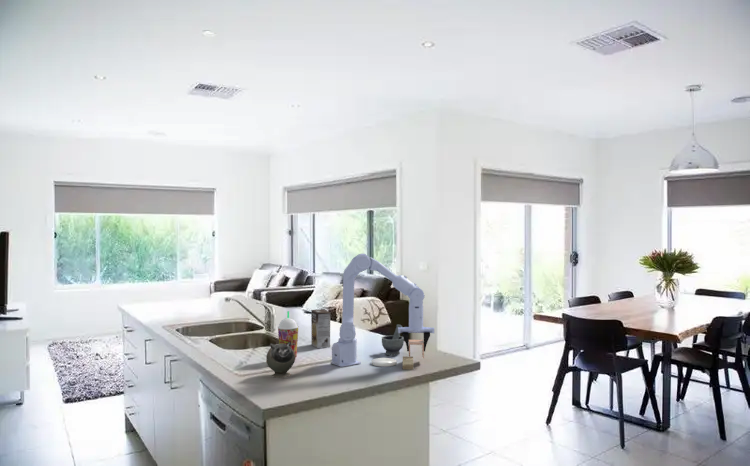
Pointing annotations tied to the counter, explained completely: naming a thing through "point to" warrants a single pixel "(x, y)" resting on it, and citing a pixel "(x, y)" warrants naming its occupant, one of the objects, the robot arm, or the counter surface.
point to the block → (407, 362)
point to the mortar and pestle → (393, 343)
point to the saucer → (384, 362)
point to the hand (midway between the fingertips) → (416, 350)
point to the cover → (417, 342)
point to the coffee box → (320, 328)
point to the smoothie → (288, 332)
